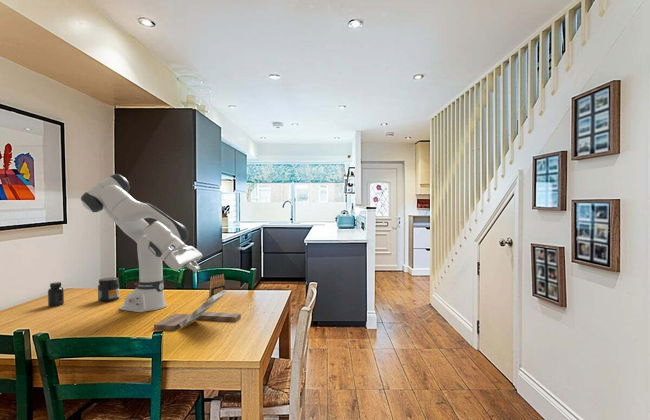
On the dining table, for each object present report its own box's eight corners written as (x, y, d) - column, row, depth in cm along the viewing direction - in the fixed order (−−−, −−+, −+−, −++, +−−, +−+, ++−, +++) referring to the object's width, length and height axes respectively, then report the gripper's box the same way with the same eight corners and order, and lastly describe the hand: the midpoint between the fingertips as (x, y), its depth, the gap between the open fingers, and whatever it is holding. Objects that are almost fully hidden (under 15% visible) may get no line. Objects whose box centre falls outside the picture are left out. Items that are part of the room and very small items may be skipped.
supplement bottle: (45, 306, 194) (44, 283, 193) (58, 303, 200) (58, 281, 200) (53, 307, 191) (53, 284, 191) (66, 304, 197) (66, 282, 197)
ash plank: (181, 327, 158) (179, 324, 158) (196, 319, 169) (193, 315, 170) (214, 299, 155) (212, 296, 155) (227, 292, 167) (224, 289, 167)
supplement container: (123, 299, 207) (123, 278, 207) (103, 303, 199) (103, 281, 198) (113, 296, 213) (113, 276, 213) (94, 301, 204) (93, 279, 204)
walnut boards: (153, 329, 158) (153, 324, 158) (181, 314, 178) (181, 310, 178) (220, 333, 152) (220, 328, 152) (240, 317, 173) (240, 313, 173)
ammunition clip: (211, 297, 212) (211, 276, 212) (209, 296, 213) (209, 276, 213) (225, 293, 221) (225, 273, 221) (223, 292, 222) (222, 273, 222)
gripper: (184, 249, 173) (205, 269, 172) (157, 259, 153) (181, 281, 152) (191, 239, 172) (213, 259, 171) (165, 248, 152) (189, 270, 151)
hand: (197, 270), depth 162 cm, fingers closed
